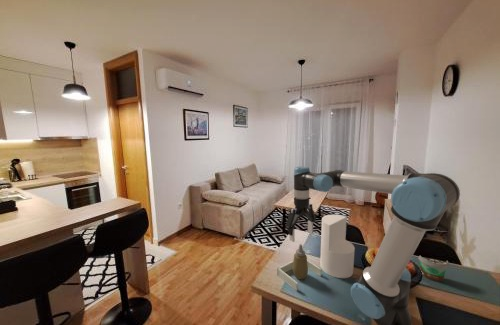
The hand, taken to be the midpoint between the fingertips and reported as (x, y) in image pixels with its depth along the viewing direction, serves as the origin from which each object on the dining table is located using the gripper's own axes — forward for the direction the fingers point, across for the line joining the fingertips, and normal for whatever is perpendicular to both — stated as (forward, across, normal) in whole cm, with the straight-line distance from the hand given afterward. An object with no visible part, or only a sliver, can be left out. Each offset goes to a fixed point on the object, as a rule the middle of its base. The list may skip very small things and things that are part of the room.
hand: (301, 236), depth 107 cm
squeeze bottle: (+23, 0, -1) cm, 23 cm away
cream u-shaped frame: (+23, 0, -2) cm, 23 cm away
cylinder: (+23, -22, +6) cm, 32 cm away
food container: (+24, -55, +40) cm, 72 cm away
